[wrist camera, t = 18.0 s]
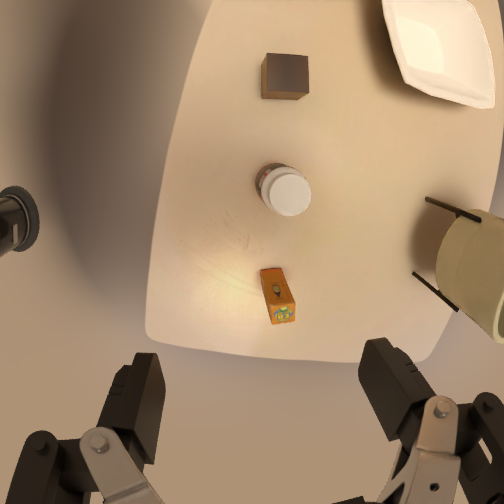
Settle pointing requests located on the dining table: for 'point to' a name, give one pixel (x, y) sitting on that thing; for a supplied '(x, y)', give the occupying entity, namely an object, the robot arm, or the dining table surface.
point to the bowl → (442, 49)
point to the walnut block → (284, 76)
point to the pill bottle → (283, 189)
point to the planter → (473, 268)
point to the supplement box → (277, 296)
